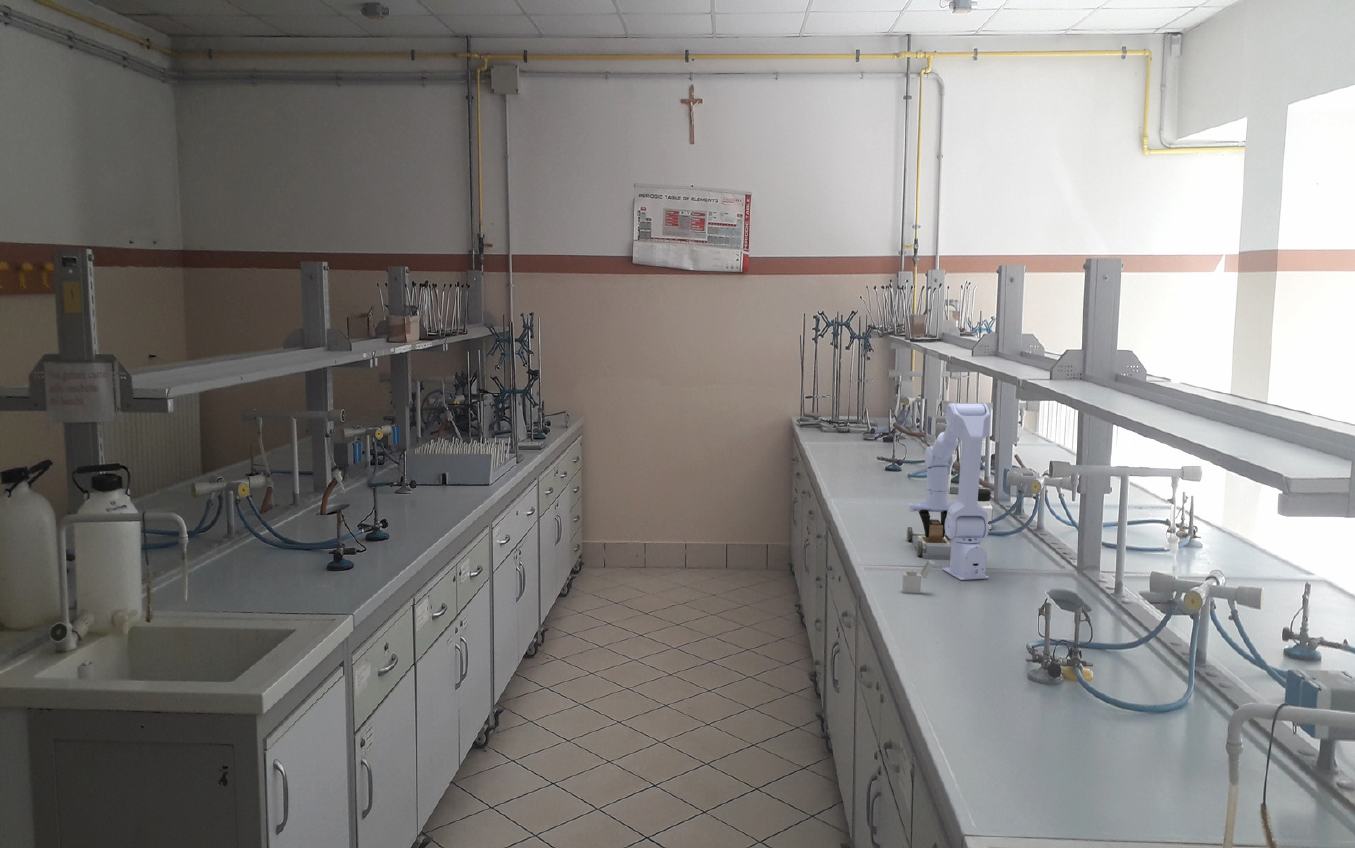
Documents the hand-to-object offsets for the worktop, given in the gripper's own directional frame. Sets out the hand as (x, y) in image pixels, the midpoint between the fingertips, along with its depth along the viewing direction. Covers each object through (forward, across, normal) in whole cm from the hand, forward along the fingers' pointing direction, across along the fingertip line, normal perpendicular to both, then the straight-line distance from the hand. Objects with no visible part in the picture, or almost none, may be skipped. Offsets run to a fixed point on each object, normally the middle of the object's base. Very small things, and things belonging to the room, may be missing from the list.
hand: (934, 536), depth 272 cm
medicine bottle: (+4, -19, -28) cm, 34 cm away
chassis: (+3, 0, 0) cm, 3 cm away
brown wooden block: (+2, 0, 0) cm, 2 cm away
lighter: (+4, +12, +41) cm, 43 cm away
